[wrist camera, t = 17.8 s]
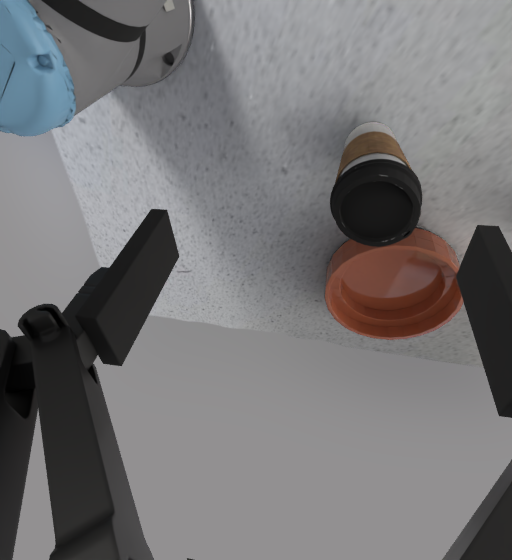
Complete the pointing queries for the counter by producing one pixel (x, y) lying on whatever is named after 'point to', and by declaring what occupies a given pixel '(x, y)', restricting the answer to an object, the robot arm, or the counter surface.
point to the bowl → (394, 286)
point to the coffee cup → (375, 188)
